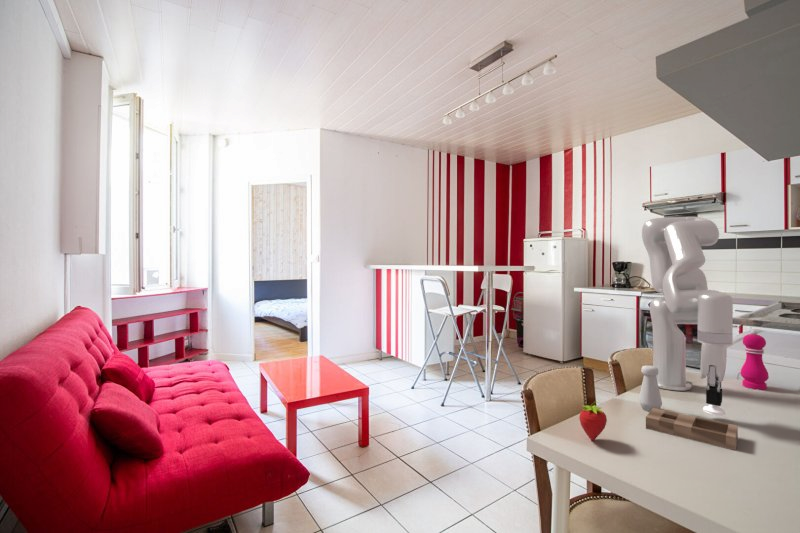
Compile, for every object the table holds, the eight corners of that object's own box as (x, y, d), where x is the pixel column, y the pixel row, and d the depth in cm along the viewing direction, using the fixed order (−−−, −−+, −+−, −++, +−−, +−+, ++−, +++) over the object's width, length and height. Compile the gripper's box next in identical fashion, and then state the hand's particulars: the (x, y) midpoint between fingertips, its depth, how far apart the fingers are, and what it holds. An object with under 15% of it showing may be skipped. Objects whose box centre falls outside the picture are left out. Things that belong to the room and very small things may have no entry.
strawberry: (611, 439, 96) (611, 399, 96) (599, 449, 91) (599, 407, 91) (587, 431, 101) (586, 393, 101) (574, 441, 96) (574, 400, 96)
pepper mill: (754, 383, 138) (753, 328, 138) (774, 390, 131) (774, 331, 131) (735, 384, 138) (734, 328, 138) (754, 390, 130) (754, 332, 130)
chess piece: (700, 411, 108) (701, 376, 107) (705, 407, 111) (705, 372, 111) (723, 417, 104) (723, 380, 104) (727, 412, 107) (727, 376, 107)
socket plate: (653, 418, 109) (653, 407, 109) (737, 437, 96) (737, 425, 96) (645, 428, 102) (645, 417, 102) (735, 450, 90) (735, 437, 90)
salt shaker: (655, 406, 118) (654, 363, 118) (666, 413, 112) (665, 369, 112) (635, 405, 118) (634, 363, 118) (645, 413, 113) (644, 368, 112)
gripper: (701, 331, 115) (700, 392, 116) (693, 340, 104) (693, 408, 104) (734, 334, 110) (733, 398, 111) (730, 345, 98) (729, 416, 99)
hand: (714, 402), depth 107 cm, fingers closed on chess piece
